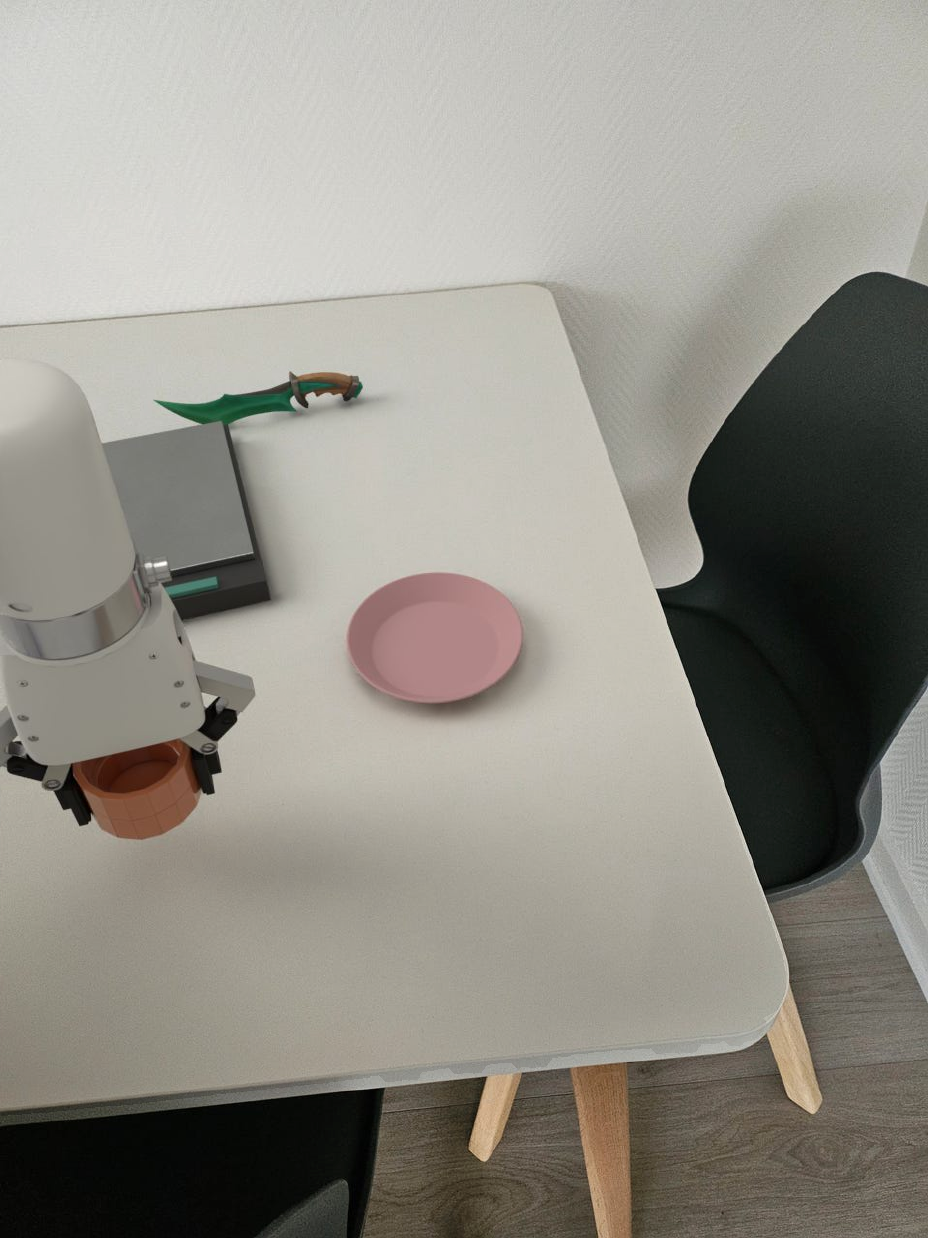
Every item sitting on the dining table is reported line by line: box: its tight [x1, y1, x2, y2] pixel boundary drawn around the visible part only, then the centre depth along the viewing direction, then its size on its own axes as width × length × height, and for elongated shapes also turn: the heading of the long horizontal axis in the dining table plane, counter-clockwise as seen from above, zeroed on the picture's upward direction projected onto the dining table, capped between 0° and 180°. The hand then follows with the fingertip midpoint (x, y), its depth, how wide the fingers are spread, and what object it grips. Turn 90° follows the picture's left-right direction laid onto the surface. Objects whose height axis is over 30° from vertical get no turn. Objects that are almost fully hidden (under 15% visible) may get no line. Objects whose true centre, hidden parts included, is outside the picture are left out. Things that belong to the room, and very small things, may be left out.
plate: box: [346, 571, 524, 704], centre depth 80 cm, size 14×14×2 cm
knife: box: [153, 371, 364, 426], centre depth 102 cm, size 21×2×5 cm, turn 108°
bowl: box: [72, 739, 203, 841], centre depth 62 cm, size 7×7×5 cm
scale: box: [101, 421, 272, 621], centre depth 91 cm, size 14×24×3 cm, turn 17°
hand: (146, 790), depth 64 cm, fingers closed on bowl, 7 cm apart
